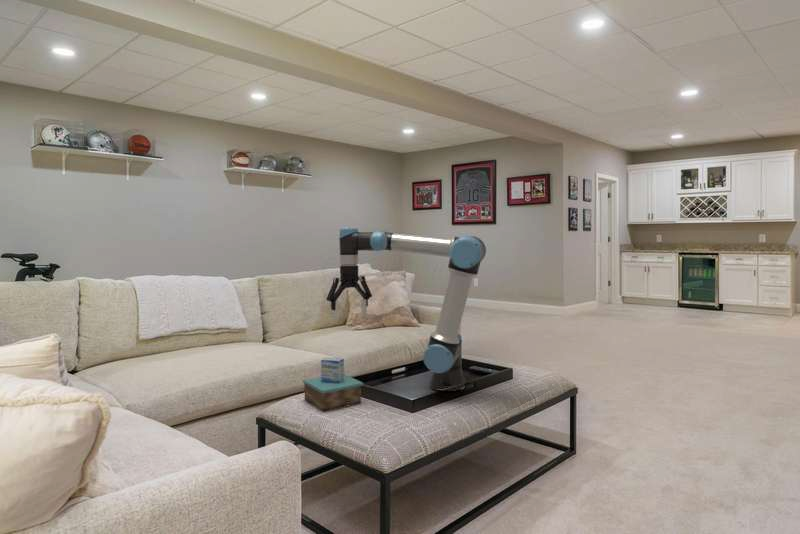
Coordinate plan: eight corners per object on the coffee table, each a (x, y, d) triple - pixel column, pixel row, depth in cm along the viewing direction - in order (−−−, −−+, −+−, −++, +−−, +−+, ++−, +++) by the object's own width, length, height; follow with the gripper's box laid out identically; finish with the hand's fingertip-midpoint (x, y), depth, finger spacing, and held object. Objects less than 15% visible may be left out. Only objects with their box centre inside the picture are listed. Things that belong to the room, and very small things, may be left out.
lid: (341, 375, 213) (341, 373, 213) (363, 385, 200) (363, 382, 200) (303, 382, 204) (303, 380, 204) (323, 393, 190) (323, 391, 190)
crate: (340, 392, 214) (340, 375, 213) (361, 403, 201) (360, 385, 200) (304, 400, 204) (304, 382, 204) (323, 411, 191) (323, 392, 191)
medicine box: (320, 382, 201) (320, 359, 200) (325, 378, 205) (325, 357, 205) (340, 383, 199) (339, 361, 198) (344, 380, 203) (343, 358, 203)
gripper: (370, 263, 225) (370, 312, 227) (317, 266, 211) (318, 318, 212) (379, 264, 219) (380, 314, 221) (326, 266, 205) (327, 320, 206)
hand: (350, 316), depth 216 cm, fingers open, 13 cm apart
